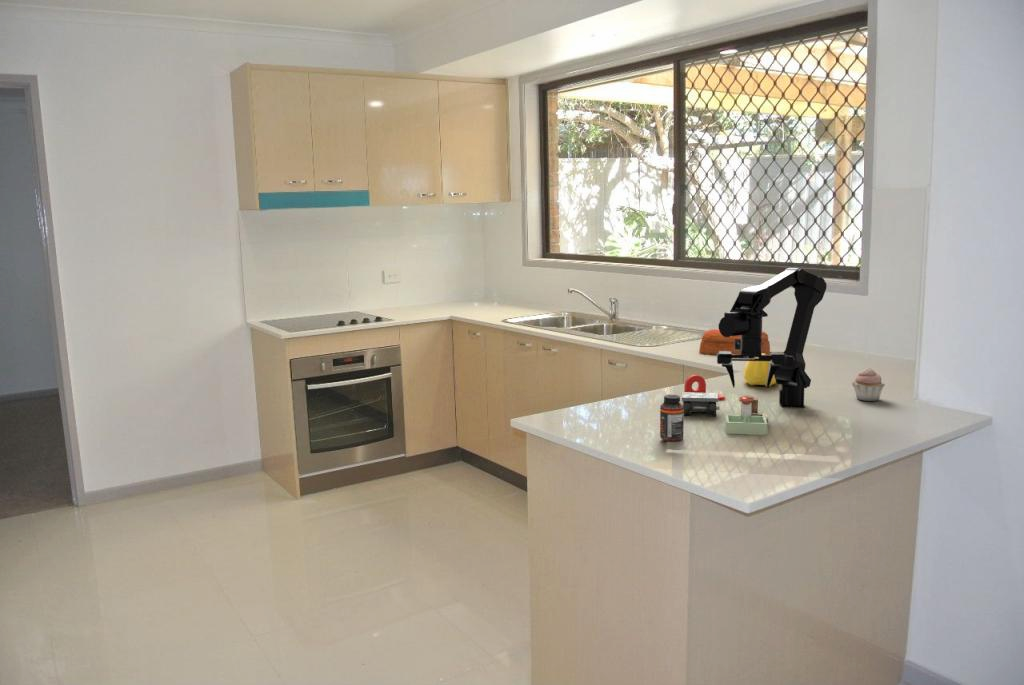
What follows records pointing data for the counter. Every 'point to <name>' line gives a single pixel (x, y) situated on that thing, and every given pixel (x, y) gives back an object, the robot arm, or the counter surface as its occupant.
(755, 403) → the block
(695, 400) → the trolley
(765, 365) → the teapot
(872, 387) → the cupcake
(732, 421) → the tray
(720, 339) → the bread
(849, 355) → the counter surface
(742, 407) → the pin
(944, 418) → the counter surface
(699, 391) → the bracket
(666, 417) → the supplement bottle
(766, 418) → the pin socket
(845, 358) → the counter surface
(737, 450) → the counter surface
